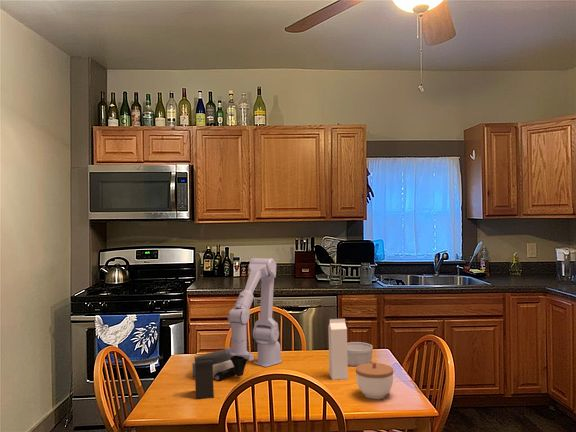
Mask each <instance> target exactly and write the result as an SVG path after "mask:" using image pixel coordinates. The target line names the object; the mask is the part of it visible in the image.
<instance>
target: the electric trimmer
mask: <svg viewBox="0 0 576 432" xmlns="http://www.w3.org/2000/svg"><path fill="white" fill-rule="evenodd" d="M230 376H231V377H232V376H236V371H235V368H234V367H232V368H230V369H227V370H225V371H222V372H218V373H216V374H215V376H214V377H213V382H219V383H220V382H222V381H223V380H224V379H226V378H229V377H230Z"/></svg>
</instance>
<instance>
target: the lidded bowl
mask: <svg viewBox="0 0 576 432" xmlns="http://www.w3.org/2000/svg"><path fill="white" fill-rule="evenodd" d="M355 374H356V375H355V377H356V383H357V387H358V389H359V391H361V393H362V394H363V395H364V397H366V398H367V399H373V400H374V399H375V400H378V399H379V400H380V399H384V398H386V396H387V394H388V393H389V392H391V389H392V388H393V382H394V368H393V367H392V366H390V365H387V364H385V363H379V362H374V361H373V362H370V363H365V364H361V365H358V366H355Z"/></svg>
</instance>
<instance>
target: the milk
mask: <svg viewBox="0 0 576 432" xmlns="http://www.w3.org/2000/svg"><path fill="white" fill-rule="evenodd" d="M327 327H328V329H327V330H328V367H329V368H328V369H329V371H328V372H329V373H328V374H329V376H330V379H331V380H332V381H335V380H338V379H340V380H348V379H349V371H348V370H349V369H348V367H349V365H348V362H347V343H348V327H347V324H346V318H335V319H334V318H330V319H329V324H328V325H327Z"/></svg>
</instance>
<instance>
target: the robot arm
mask: <svg viewBox="0 0 576 432" xmlns="http://www.w3.org/2000/svg"><path fill="white" fill-rule="evenodd" d="M248 271H249V274H248V277H247V280H246V284H245V287H244V289H243V290H242V291H240V292H239V295H238V297H237V299H236V302H235V304H234V306H233V308H232V309H230V310H229V312H228V315H227V320H228V322H229V328H231V331H230V333H231V347H232V348H231V347H226V348H225V349H226V354H230V355H232V356H233V357H231V358H230V360H231V361H232V363H233V365H234V368H235V371H236V374H235V376H236V377H242V376H244V371H245V368H246V365H247V363H248V362H249V361H253V364H255V365H258V366H260V367H264V368H267V367H270V366H274V365H276V364H277V365H278V364H280V363H282V362H283V360H282V359H281V358H282V357H281V356H282V355H281V354H282V353H281V352H282V351H281V344H280V342H279V341H278V339H279V336H280V331H279V324H278V322H277V321H276V320H275V319H274V318H273V308H274V307H273V305H274V286H275V285H274V283H275V279H276V277H277V263H276V261H275V259H274V258H272V257H270V258H265V257H262V258H259V257H252V258H251V259H250V261H249V264H248ZM260 281H261V283H260V284H261V286H260V287H261V289H260V308H259V311H260V312H259V319H257V320H256V321H255V322H254V327H253V329H252V337H253V340H255V343H257V361H254V359H255V357H254V355H255V354H253V353H251V352H249V351H248V347H247V346H248V341H247V340H248V339H247V337H248V336H247V333H248V332H247V324H248V322H249V320H250V313H251V310H250V309H251V306H252V303H253V301H254V299H255V296H254V291H255V289H256V287H257V285H258V284H259V282H260Z"/></svg>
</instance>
